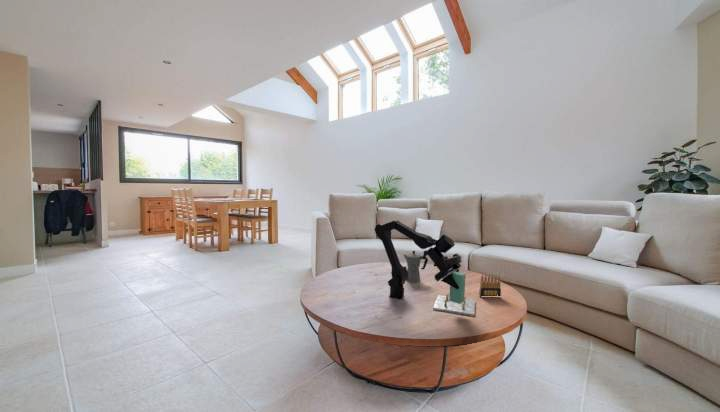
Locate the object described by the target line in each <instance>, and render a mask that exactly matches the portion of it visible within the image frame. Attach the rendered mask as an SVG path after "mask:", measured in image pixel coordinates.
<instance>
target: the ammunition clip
mask: <svg viewBox="0 0 720 412" xmlns="http://www.w3.org/2000/svg"><path fill="white" fill-rule="evenodd" d="M479 283H480V287H479V292H478V293H479V294H478V296H479V295H480V296H497V295H498V296H501V297H502V289H501V286H502V285H501V275H500V274H499V275H498V276H497V274H495V275H494V274H491V275H490V274H488V276H487V274H485V275H483V274H481V277H480V282H479Z"/></svg>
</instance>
